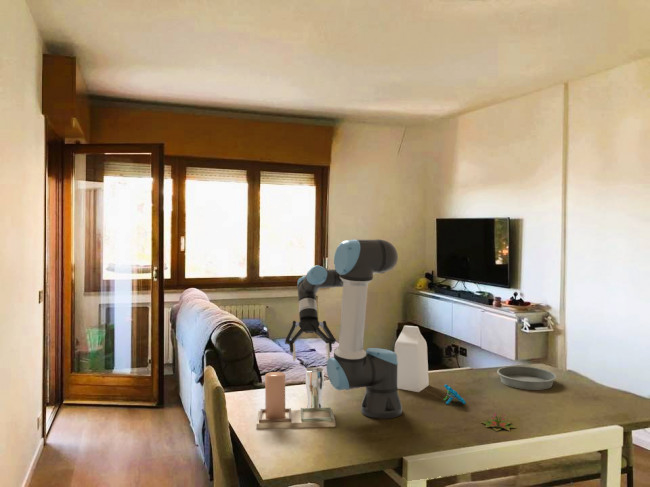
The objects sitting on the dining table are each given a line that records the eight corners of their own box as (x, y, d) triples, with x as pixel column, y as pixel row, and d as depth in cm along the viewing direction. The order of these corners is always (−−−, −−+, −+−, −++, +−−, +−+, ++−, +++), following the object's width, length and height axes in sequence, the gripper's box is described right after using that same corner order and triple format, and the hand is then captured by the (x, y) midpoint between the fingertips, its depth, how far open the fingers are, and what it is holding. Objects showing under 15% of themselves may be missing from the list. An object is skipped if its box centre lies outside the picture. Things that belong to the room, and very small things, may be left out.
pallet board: (332, 413, 199) (332, 406, 199) (335, 426, 186) (335, 419, 186) (258, 415, 198) (258, 408, 197) (256, 428, 185) (256, 420, 184)
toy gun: (470, 403, 206) (451, 385, 206) (460, 415, 205) (441, 396, 205) (460, 398, 216) (442, 380, 216) (450, 409, 216) (432, 392, 216)
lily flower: (473, 423, 191) (473, 410, 191) (500, 418, 195) (501, 406, 195) (495, 435, 180) (495, 421, 179) (524, 430, 184) (524, 417, 184)
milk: (392, 387, 232) (392, 327, 231) (403, 381, 241) (403, 323, 240) (418, 392, 225) (419, 329, 224) (428, 385, 235) (429, 325, 234)
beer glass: (317, 413, 200) (317, 372, 199) (302, 409, 203) (302, 370, 203) (327, 408, 205) (327, 368, 205) (312, 404, 209) (312, 366, 209)
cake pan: (494, 387, 232) (494, 377, 232) (499, 373, 255) (499, 363, 255) (557, 394, 223) (557, 383, 223) (556, 378, 246) (556, 369, 245)
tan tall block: (288, 415, 193) (288, 373, 193) (278, 421, 187) (278, 378, 186) (272, 412, 196) (272, 371, 196) (261, 418, 190) (261, 375, 189)
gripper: (336, 316, 229) (341, 363, 217) (277, 315, 224) (278, 364, 212) (339, 307, 223) (344, 355, 211) (278, 306, 218) (280, 356, 206)
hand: (311, 359), depth 212 cm, fingers open, 13 cm apart
